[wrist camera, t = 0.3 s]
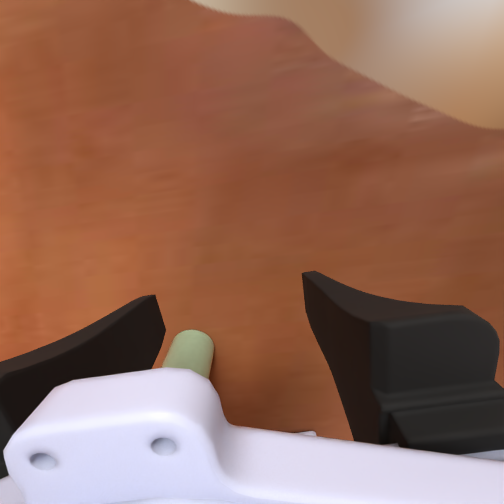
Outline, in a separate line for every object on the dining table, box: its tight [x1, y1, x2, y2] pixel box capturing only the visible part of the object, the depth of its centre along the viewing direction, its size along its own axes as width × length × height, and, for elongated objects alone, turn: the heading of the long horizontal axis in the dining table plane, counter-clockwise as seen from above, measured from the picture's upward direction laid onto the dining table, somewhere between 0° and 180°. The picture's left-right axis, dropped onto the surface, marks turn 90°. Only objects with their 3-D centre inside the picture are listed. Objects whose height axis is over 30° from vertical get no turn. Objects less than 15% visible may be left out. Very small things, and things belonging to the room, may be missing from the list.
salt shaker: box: [161, 330, 214, 379], centre depth 22 cm, size 4×4×8 cm
